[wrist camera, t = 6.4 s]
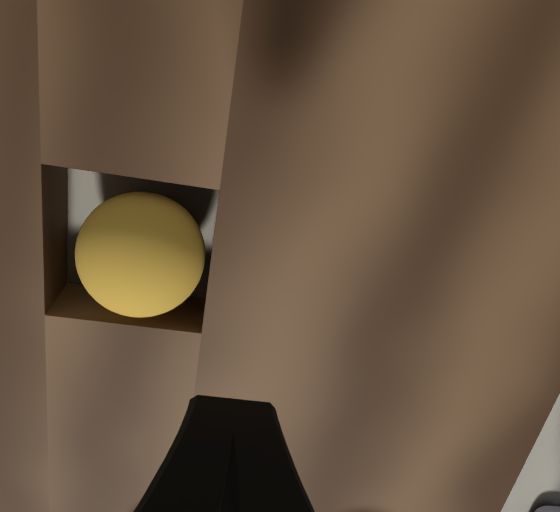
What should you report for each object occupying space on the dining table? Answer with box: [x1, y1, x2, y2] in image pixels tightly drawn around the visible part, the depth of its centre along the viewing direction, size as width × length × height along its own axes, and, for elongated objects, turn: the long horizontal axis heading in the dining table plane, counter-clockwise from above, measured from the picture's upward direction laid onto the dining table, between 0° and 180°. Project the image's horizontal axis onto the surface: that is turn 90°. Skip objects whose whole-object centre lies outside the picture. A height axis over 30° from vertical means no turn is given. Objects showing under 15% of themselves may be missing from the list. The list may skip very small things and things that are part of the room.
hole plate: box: [0, 0, 560, 512], centre depth 17 cm, size 18×24×2 cm
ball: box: [75, 191, 205, 318], centre depth 15 cm, size 4×4×4 cm
